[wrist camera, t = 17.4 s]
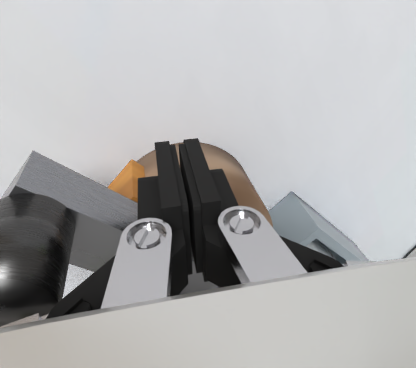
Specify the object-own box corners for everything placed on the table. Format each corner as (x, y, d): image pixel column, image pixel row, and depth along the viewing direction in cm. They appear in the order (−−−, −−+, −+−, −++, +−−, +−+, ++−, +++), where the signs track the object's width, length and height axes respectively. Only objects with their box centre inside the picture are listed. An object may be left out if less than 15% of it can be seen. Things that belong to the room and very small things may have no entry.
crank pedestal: (272, 187, 19) (301, 231, 16) (190, 261, 21) (201, 312, 18) (168, 105, 14) (180, 144, 11) (78, 212, 17) (67, 268, 14)
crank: (266, 241, 15) (315, 336, 11) (202, 296, 17) (226, 397, 13) (47, 115, 9) (-9, 223, 5) (-20, 218, 11) (-103, 360, 7)
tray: (353, 242, 25) (382, 276, 22) (270, 303, 27) (287, 341, 25) (291, 191, 20) (319, 227, 17) (198, 272, 22) (208, 315, 20)
